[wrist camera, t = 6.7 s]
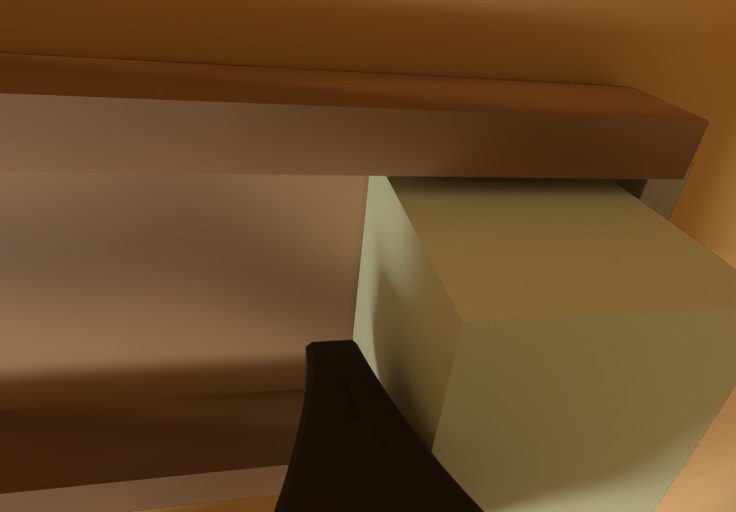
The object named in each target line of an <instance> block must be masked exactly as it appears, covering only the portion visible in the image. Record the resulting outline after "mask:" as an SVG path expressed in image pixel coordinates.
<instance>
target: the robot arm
mask: <svg viewBox="0 0 736 512" xmlns="http://www.w3.org/2000/svg"><path fill="white" fill-rule="evenodd" d="M274 512H484V511H483V510H482V509H481V508H480V507H479V505H478V504H477V503H476V502H475V501H474V500H473V499H472V498H471V497H470V496H469V495H468V494H467V493H466V492H465V491H464V490H463V488H462V487H461V486H460V485H459V484H458V483H457V482H456V481H455V480H454V478H453V477H452V476H451V475H450V474H449V473H448V471H447V470H446V469H445V468H444V467H443V466H442V464H441V463H440V462H439V461H438V460H437V458H436V457H435V456H434V455H433V453H432V452H431V451H430V450H429V449H428V447H427V446H426V445H425V444H424V442H423V441H422V440H421V439H420V437H419V436H418V435H417V433H416V432H415V431H414V430H413V428H412V427H411V425H410V424H409V423H408V421H407V420H406V419H405V417H404V416H403V414H402V413H401V412H400V410H399V409H398V408H397V406H396V405H395V404H394V402H393V401H392V399H391V398H390V396H389V395H388V393H387V392H386V390H385V389H384V387H383V386H382V384H381V383H380V381H379V380H378V378H377V377H376V375H375V373H374V372H373V370H372V369H371V367H370V365H369V364H368V362H367V360H366V359H365V357H364V355H363V353H362V352H361V350H360V348H359V346H358V344H357V343H356V342H354V341H353V340H336V341H317V342H311V343H310V344H309V345H307V346H306V355H305V380H304V402H303V407H302V412H301V417H300V422H299V427H298V432H297V436H296V440H295V444H294V448H293V451H292V455H291V459H290V462H289V466H288V469H287V473H286V477H285V480H284V483H283V486H282V490H281V493H280V496H279V499H278V502H277V505H276V508H275V511H274Z"/></svg>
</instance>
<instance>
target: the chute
mask: <svg viewBox="0 0 736 512" xmlns="http://www.w3.org/2000/svg"><path fill="white" fill-rule="evenodd" d="M708 123H709V121H708V120H705V119H703V118H701V117H698V116H696V115H694V114H692V113H689V112H687V111H685V110H682V109H680V108H678V107H675V106H673V105H671V104H669V103H666V102H664V101H662V100H659V99H657V98H655V97H653V96H650V95H648V94H646V93H643V92H641V91H639V90H636V89H634V88H632V87H626V86H607V85H588V84H570V83H551V82H532V81H513V80H495V79H476V78H457V77H439V76H420V75H401V74H383V73H364V72H345V71H327V70H308V69H289V68H271V67H252V66H233V65H215V64H196V63H177V62H159V61H140V60H121V59H102V58H84V57H65V56H46V55H28V54H9V53H0V512H132V511H141V510H150V509H159V508H167V507H176V506H185V505H194V504H203V503H212V502H221V501H229V500H238V499H247V498H256V497H265V496H274V495H280V493H281V490H282V486H283V483H284V480H285V477H286V473H287V469H288V466H289V462H290V459H291V455H292V451H293V448H294V444H295V440H296V436H297V432H298V427H299V422H300V417H301V412H302V407H303V402H304V380H305V355H306V346H307V345H309V344H310V343H311V342H317V341H336V340H353V331H354V321H355V311H356V301H357V291H358V281H359V272H360V262H361V252H362V242H363V232H364V222H365V212H366V202H367V192H368V182H369V176H425V177H509V178H593V179H611V180H612V181H614V182H615V183H616V184H618V185H619V186H621V187H622V188H623V189H625V190H626V191H628V192H629V193H630V194H632V195H633V196H635V197H636V198H637V199H639V200H640V201H642V202H643V203H644V204H646V205H647V206H648V207H650V208H651V209H653V210H654V211H655V212H657V213H658V214H660V215H661V216H662V217H664V218H665V219H667V220H669V218H670V216H671V214H672V211H673V209H674V207H675V205H676V202H677V200H678V198H679V196H680V194H681V191H682V189H683V187H684V185H685V182H686V180H687V178H688V176H689V173H690V171H691V169H692V167H693V165H694V163H693V162H691V161H692V159H693V157H694V154H695V152H696V150H697V148H698V145H699V143H700V141H701V139H702V136H703V134H704V132H705V130H706V127H707V125H708Z"/></svg>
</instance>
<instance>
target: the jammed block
mask: <svg viewBox="0 0 736 512" xmlns="http://www.w3.org/2000/svg"><path fill="white" fill-rule="evenodd" d="M353 341H354V342H356V343H357V344H358V346H359V348H360V350H361V352H362V353H363V355H364V357H365V359H366V360H367V362H368V364H369V365H370V367H371V369H372V370H373V372H374V373H375V375H376V377H377V378H378V380H379V381H380V383H381V384H382V386H383V387H384V389H385V390H386V392H387V393H388V395H389V396H390V398H391V399H392V401H393V402H394V404H395V405H396V406H397V408H398V409H399V410H400V412H401V413H402V414H403V416H404V417H405V419H406V420H407V421H408V423H409V424H410V425H411V427H412V428H413V430H414V431H415V432H416V433H417V435H418V436H419V437H420V439H421V440H422V441H423V442H424V444H425V445H426V446H427V447H428V449H429V450H430V451H431V452H432V453H433V455H434V456H435V457H436V458H437V460H438V461H439V462H440V463H441V464H442V466H443V467H444V468H445V469H446V470H447V471H448V473H449V474H450V475H451V476H452V477H453V478H454V480H455V481H456V482H457V483H458V484H459V485H460V486H461V487H462V488H463V490H464V491H465V492H466V493H467V494H468V495H469V496H470V497H471V498H472V499H473V500H474V501H475V502H476V503H477V504H478V505H479V507H480V508H481V509H482V510H483V511H484V512H654V511H655V509H656V508H657V506H658V505H659V503H660V502H661V500H662V499H663V497H664V496H665V494H666V492H667V491H668V489H669V488H670V486H671V485H672V483H673V482H674V480H675V479H676V477H677V475H678V474H679V472H680V471H681V469H682V468H683V466H684V465H685V463H686V462H687V460H688V458H689V457H690V455H691V454H692V452H693V451H694V449H695V448H696V446H697V445H698V443H699V441H700V440H701V438H702V437H703V435H704V434H705V432H706V431H707V429H708V428H709V426H710V424H711V423H712V421H713V420H714V418H715V417H716V415H717V414H718V412H719V411H720V409H721V407H722V406H723V404H724V403H725V401H726V400H727V398H728V397H729V395H730V394H731V392H732V390H733V389H734V387H735V386H736V269H735V268H733V267H732V266H731V265H729V264H728V263H726V262H725V261H724V260H722V259H721V258H720V257H718V256H717V255H715V254H714V253H713V252H711V251H710V250H708V249H707V248H706V247H704V246H703V245H701V244H700V243H699V242H697V241H696V240H694V239H693V238H692V237H690V236H689V235H687V234H686V233H685V232H683V231H682V230H681V229H679V228H678V227H676V226H675V225H674V224H672V223H671V222H669V221H668V220H667V219H665V218H664V217H662V216H661V215H660V214H658V213H657V212H655V211H654V210H653V209H651V208H650V207H648V206H647V205H646V204H644V203H643V202H642V201H640V200H639V199H637V198H636V197H635V196H633V195H632V194H630V193H629V192H628V191H626V190H625V189H623V188H622V187H621V186H619V185H618V184H616V183H615V182H614V181H612V180H611V179H593V178H509V177H425V176H369V182H368V192H367V202H366V212H365V222H364V232H363V242H362V252H361V262H360V272H359V281H358V291H357V301H356V311H355V321H354V331H353Z"/></svg>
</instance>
